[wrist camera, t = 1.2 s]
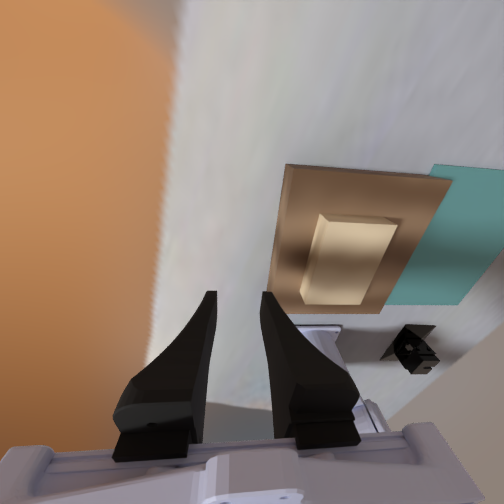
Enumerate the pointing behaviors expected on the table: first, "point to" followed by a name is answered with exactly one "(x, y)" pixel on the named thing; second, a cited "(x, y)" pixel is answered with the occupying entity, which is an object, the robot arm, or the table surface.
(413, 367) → the black slotted bracket
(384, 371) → the table surface
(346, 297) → the beech tile
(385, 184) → the walnut board
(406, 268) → the teal mat
